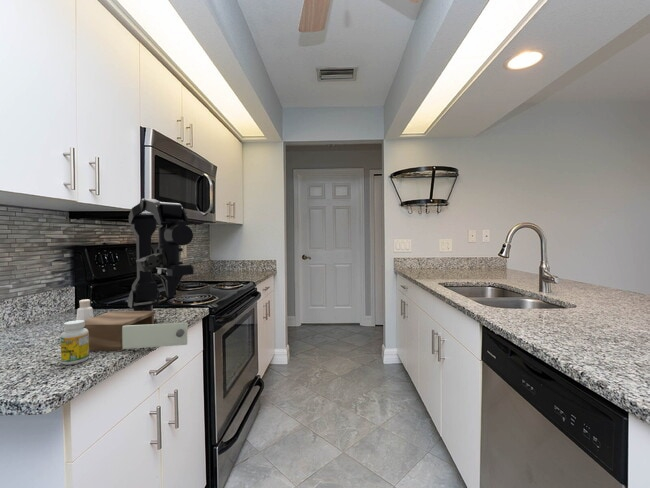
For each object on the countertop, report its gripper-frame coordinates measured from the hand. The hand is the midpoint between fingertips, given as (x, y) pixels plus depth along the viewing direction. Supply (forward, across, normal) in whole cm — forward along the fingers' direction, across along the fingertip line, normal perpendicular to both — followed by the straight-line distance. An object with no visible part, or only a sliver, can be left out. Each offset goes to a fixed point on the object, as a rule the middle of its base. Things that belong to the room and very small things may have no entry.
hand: (169, 297), depth 93 cm
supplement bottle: (+13, -1, -22) cm, 26 cm away
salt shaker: (+13, -25, -15) cm, 32 cm away
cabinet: (+13, -10, -11) cm, 20 cm away
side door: (+12, +6, -7) cm, 15 cm away
